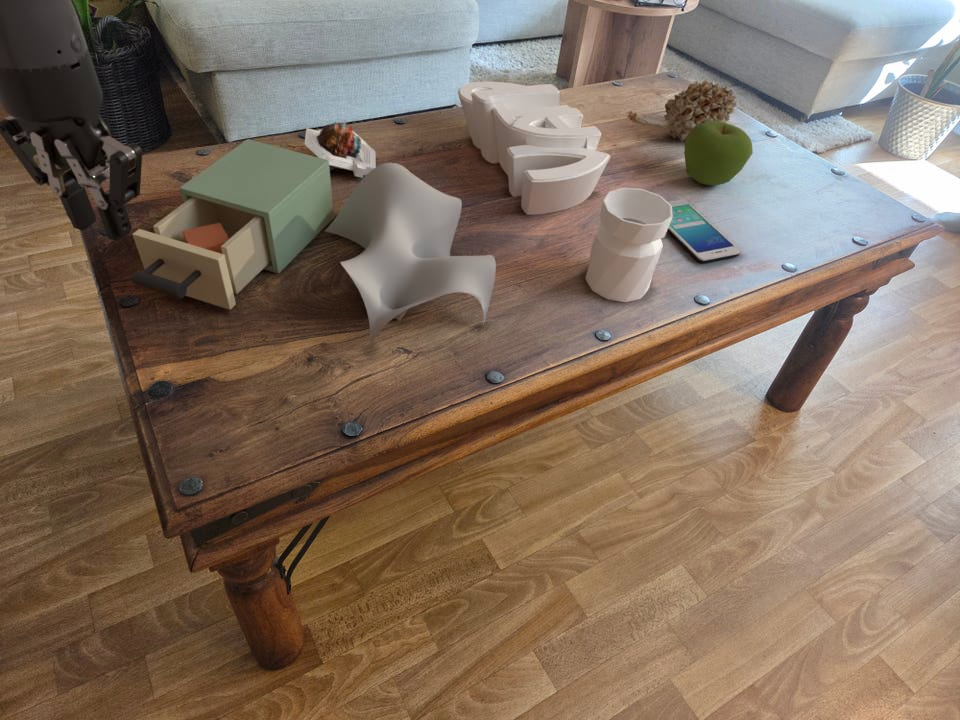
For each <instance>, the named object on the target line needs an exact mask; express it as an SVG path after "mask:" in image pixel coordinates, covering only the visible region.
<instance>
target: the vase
mask: <svg viewBox="0 0 960 720" xmlns="http://www.w3.org/2000/svg"><path fill="white" fill-rule="evenodd" d="M672 217H673V214H672V206H671V205H670V204H669V203H668V201H667V200H666V199H665V198H664V197H662V195H660V194H658V193H654V192H652V191H650V190H646V189H644V188H636V187H620V188H617V189H613V190H610V191H608V193H607V194H606V196H605V197H604V199H602V204H601V207H600V213H599V219H600V224H599V225H598V227H597V230H596V233H595V235H594V239H593V242H592V245H591V249H590V254H589V261H588V266H587V267H588V268H587V272H586V273H585V281H586V282H587V284H588V286H589V288H590V289H591V291H592V292H593V293H596V294H597V295H599V296H600V297H602V298H604V299H605V300H608V301H615V302H621V303H630V302H633V301H637V300H641V299H642V298H643V297H644V296H645V295H646V293H647V292H648V291H649V288H650V287H651V282H652V279H653V275H654V272H655V270H656V268H657V265H658V262H659V260H660V256H661V254H662V250H663V247H664V245H663V242H662V239H663V238H665V237H666V234H667V233H668V232H667V230H668V227H669V225H670V222H671V220H672Z"/></svg>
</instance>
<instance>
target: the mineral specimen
mask: <svg viewBox="0 0 960 720" xmlns="http://www.w3.org/2000/svg"><path fill="white" fill-rule="evenodd" d="M304 146H305V147H306V148H307V149H308V150H310V151H311V152H312V153H313V155H314V156H315V157H318V158H321V159H325V160H329V169H330V172H331V171H332V170H333V171H334V169H335V171H336V172H337V173H338V172H339V170H340V169H344V170H348V171H352V172H353V176H354V177H357V178H361V179H363V178H364V177H365V176H366V175H367V174H368V173H369V172H370V171H372V170H373V169H374V168H376V167H377V164H376V162H377V159H376V158H377V157H376V151H375V150H374V149H373V148H372V147H371V146H370V145H369V144H368V143H367V142H366V141H365V140H364V139H363V138H362V137H361V136H359V135H358V134H357V133H356V132H355V131H354V129H353V127H352V126H351V125H349V124H348V122H344V121H340V122H339V121H338V122H336V121H335V122H332V123H330V124H327V125H324V126H323V127H322V128H320V129H318V130H316V129H312V128H306V130H305V138H304Z"/></svg>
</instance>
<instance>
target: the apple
mask: <svg viewBox="0 0 960 720" xmlns="http://www.w3.org/2000/svg"><path fill="white" fill-rule="evenodd" d="M753 153H754V152H753V142H752V140H751V137H750V136H749V135H748V134H747V132H745V130H743V129H742V128H740V127H738V126H737V125H736V126H735V125H733V124H730V123H728V122H726V123H725V122H719V121H710V122H706V123H703V124H700V125H697V126H695V127H694V128H693V129H692V130H691V131H690V132H689V134H688V135H687V137H686V138H685V140H684V150H683V154H684V162H685V163H684V164H685V170H686V173H687V174H688V175H689V176H690V177H691V178H692V179H693V180H694V181H695V182H697V183H699V184H701V185H704V186H709V187H711V186H712V187H713V186H720V185H725V184H726V183H727V184H728V183H729V182H730V181H731V180H732V179H734V178H735V177H736V176H737V175H738V174H739V173H740V172H741V171H742V170H743V168H744V167H745V166H746V164H747V162H748V161H749V159H750V158H751V156H752V155H753Z"/></svg>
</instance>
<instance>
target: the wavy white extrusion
mask: <svg viewBox="0 0 960 720" xmlns="http://www.w3.org/2000/svg"><path fill="white" fill-rule="evenodd" d="M457 95H458V98H459V102H460V105H461V108H462V112H463V115H464V118H465V122H466V125H467V129H468V131H469V135H470V138H471V141H472V145H473V146H474V147H476V148H477V149H479V150H480V153H481V156H482V158H483V159H484V160H485V161H487V162H488V163H490V164H499V165H500V168H501V169H502V170H503V172H504V173H505V174H506V175H507V178H508V179H507V180H508V192H509V194H510V195H511V196H512V197H513V198H516V197H521V200H520V208H521V210H522V211H523V212H524V213H525V214H526V215H527V216H530V215H532V216H533V215H544V214H552V213H557V212H562V211H565V210H568V209H571V208H573V207H576V206H578V205H579V204H581V203H583V202H585V201H586V200H587V199H588V198H589V197H590V196H591V195H592V193H593V191H594V190H595V188H596V186H597V184H598V182H599V181H600V178H601V177H602V175H603V172H604V170H605V168H606V167H607V165H608V163H609V160H611V159H610V158H611V157H612V155H610V154H609V153H607V152H604V151H603V152H602V151H599V150H597V149H598V146H599V143H600V140H601V137H602V132H601V131H600V129H599V128H598V127H596V126H595V125H590V126H582V124H583V119H584V115H583V113H582V112H581V111H580V110H579V109H578V108H577V107H570V106H569V105H568V104H562V105H560V99H561V97H560V96H561V92H560V90H559V88H557V86H555V85H554V84H551V83H545V84H535V85H534V84H533V85H524V84H520V83H514V82H503V81H474V82H473V81H472V82H468V83H465V84H463V85H462V86H460V87H459V88H458V90H457Z"/></svg>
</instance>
